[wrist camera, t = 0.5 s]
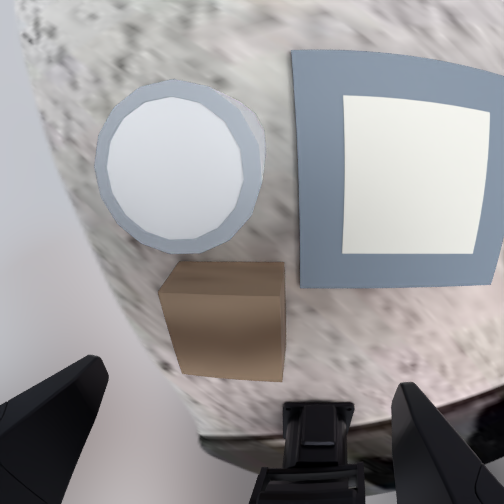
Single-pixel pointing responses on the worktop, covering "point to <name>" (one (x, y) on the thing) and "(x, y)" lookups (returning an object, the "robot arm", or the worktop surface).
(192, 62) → the worktop surface
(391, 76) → the board
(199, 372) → the walnut block
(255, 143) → the white cup
